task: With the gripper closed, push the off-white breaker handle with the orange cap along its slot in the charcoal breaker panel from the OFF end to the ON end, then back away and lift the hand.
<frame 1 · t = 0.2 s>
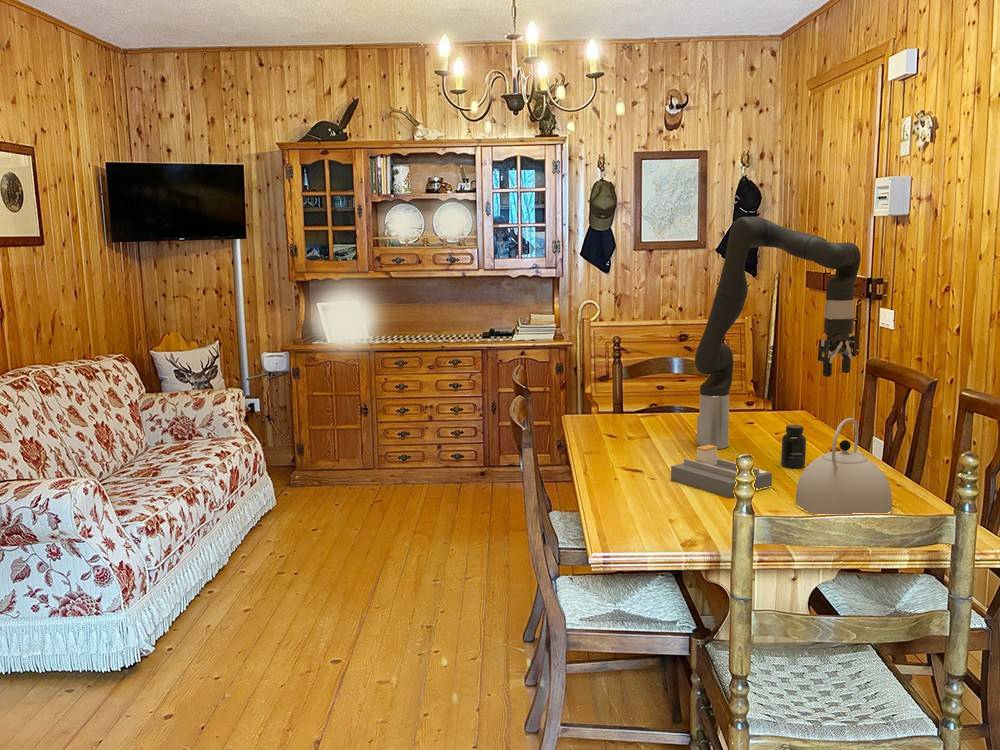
hand: (836, 374, 239), 29 cm above the table, tool pointing down, fingers open, 8 cm apart
supplement bottle: (793, 466, 255), on the table
breaker handle: (707, 455, 243), point 7 cm above the table, slide at 0.0 cm
kettle: (844, 506, 219), on the table
breaker panel: (720, 483, 240), on the table
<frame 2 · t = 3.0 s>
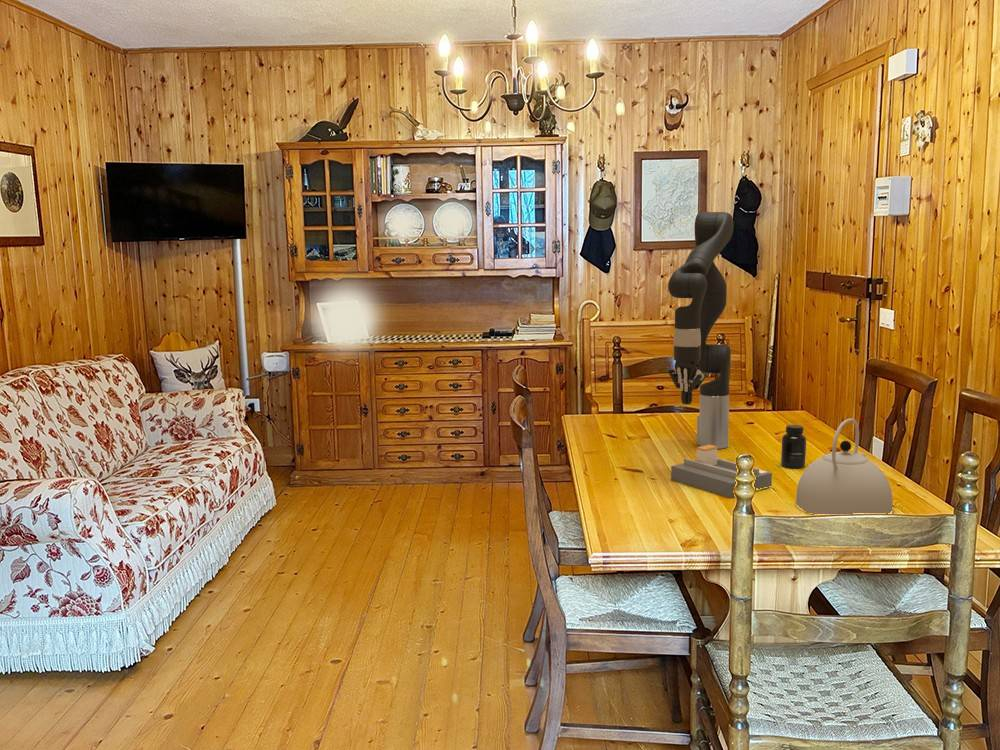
hand: (686, 403, 247), 21 cm above the table, tool pointing down, fingers closed
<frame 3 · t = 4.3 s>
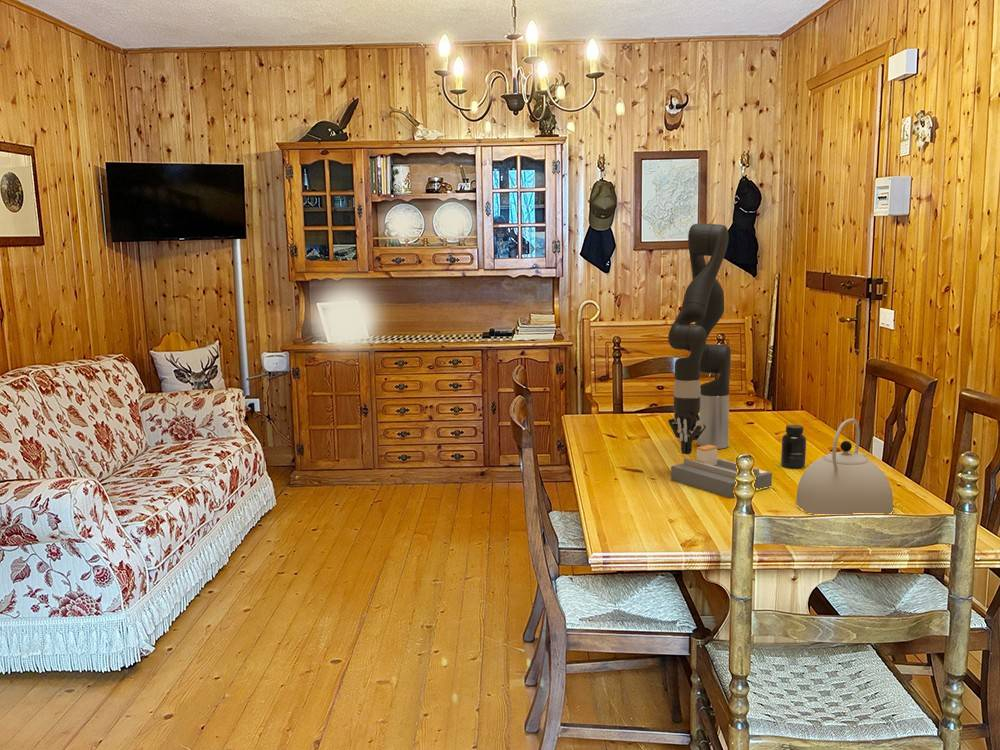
hand: (686, 453, 249), 6 cm above the table, tool pointing down, fingers closed
nothing on the table moved.
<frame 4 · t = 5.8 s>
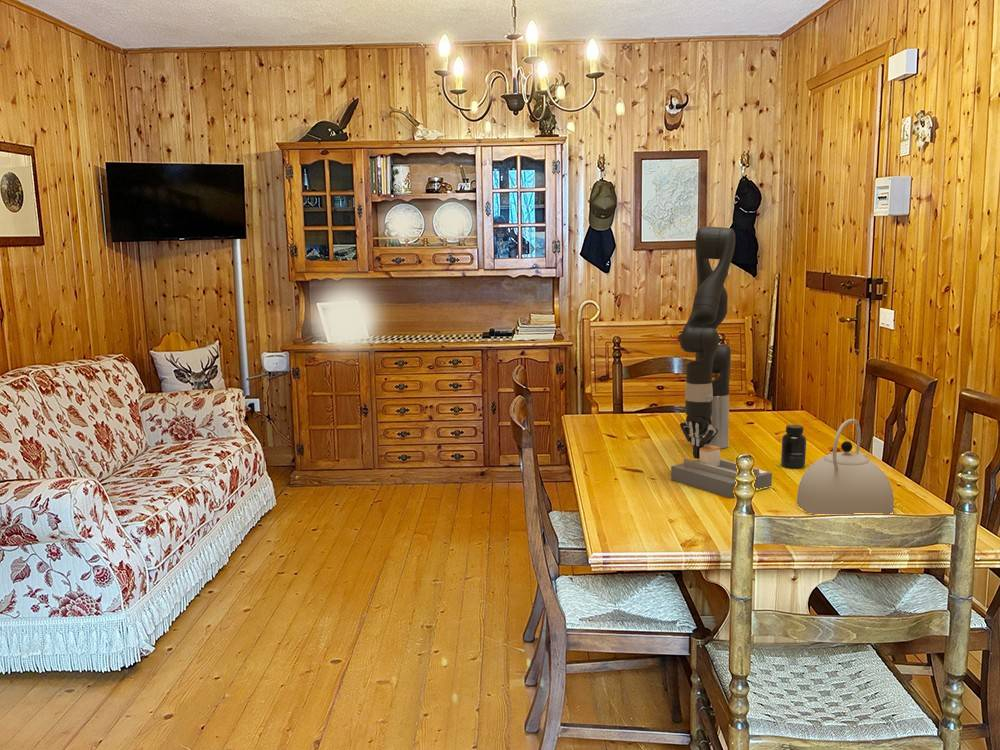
hand: (698, 458, 246), 6 cm above the table, tool pointing down, fingers closed
breaker handle: (709, 456, 242), point 7 cm above the table, slide at 1.0 cm, touching gripper
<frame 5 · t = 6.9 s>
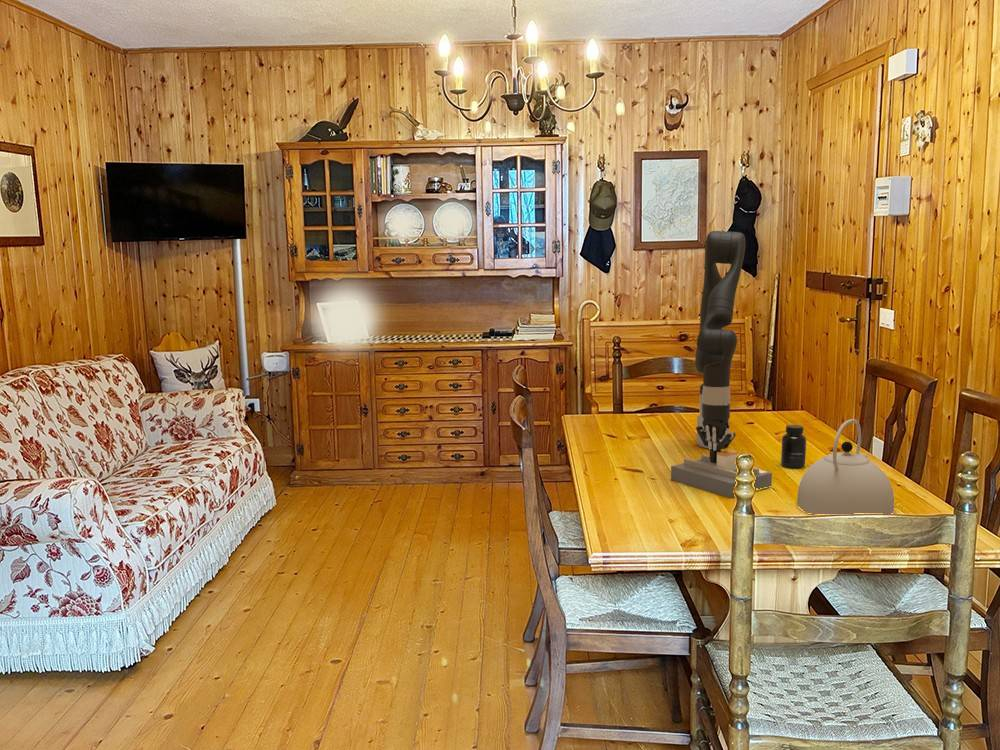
hand: (715, 462, 240), 6 cm above the table, tool pointing down, fingers closed
breaker handle: (727, 461, 237), point 7 cm above the table, slide at 7.4 cm, touching gripper
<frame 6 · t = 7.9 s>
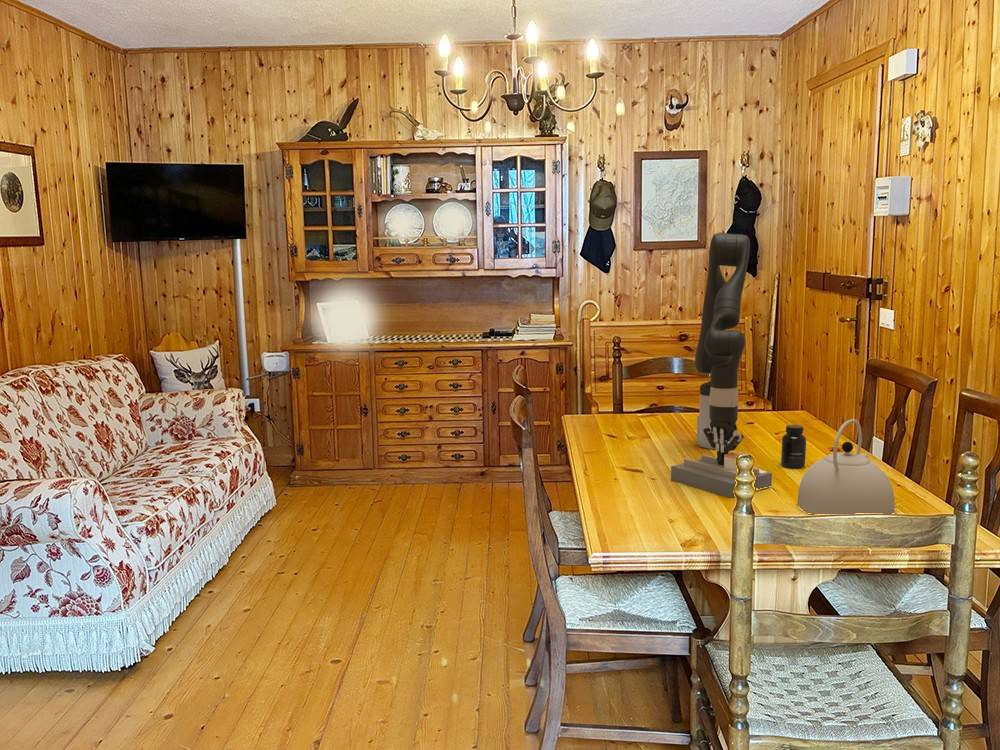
hand: (722, 464, 238), 6 cm above the table, tool pointing down, fingers closed
breaker handle: (734, 463, 235), point 7 cm above the table, slide at 10.0 cm, touching gripper
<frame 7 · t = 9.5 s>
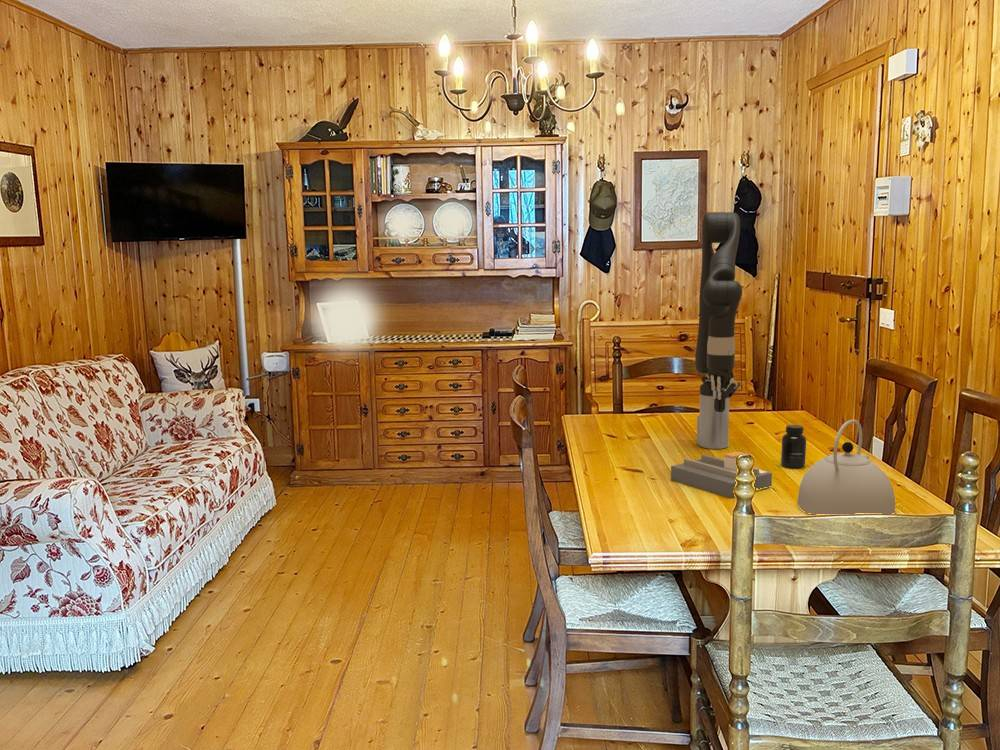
hand: (719, 411, 247), 18 cm above the table, tool pointing down, fingers closed
breaker handle: (734, 463, 235), point 7 cm above the table, slide at 10.0 cm
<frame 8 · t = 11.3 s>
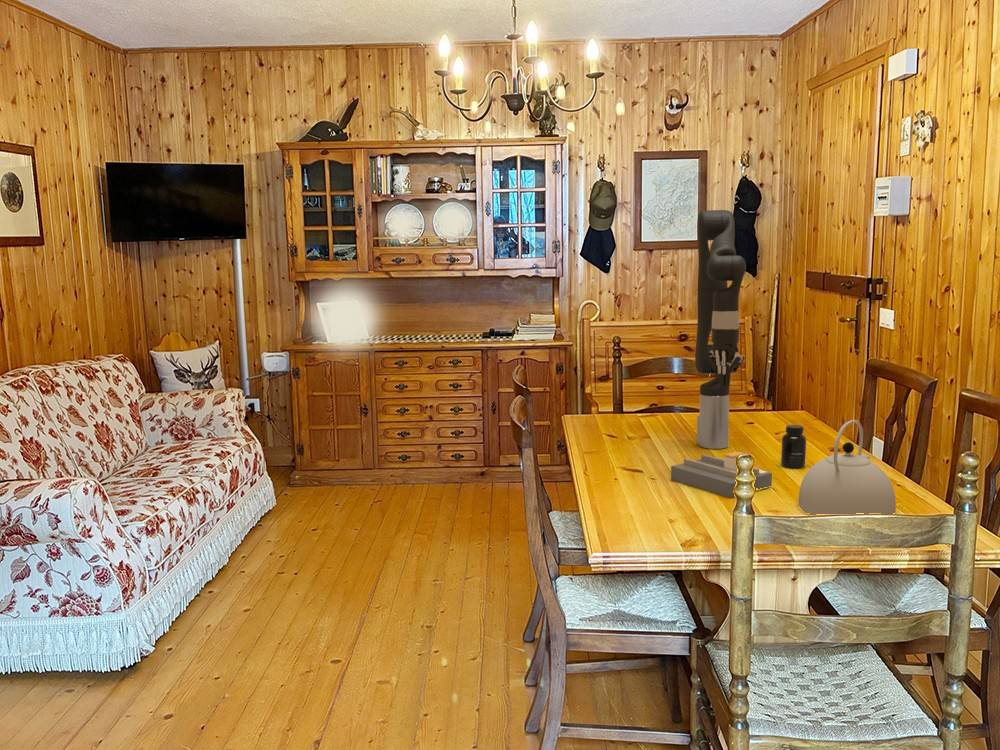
hand: (724, 386, 248), 25 cm above the table, tool pointing down, fingers closed
at the end: breaker handle slide at 10.0 cm; the gripper is holding nothing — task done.
